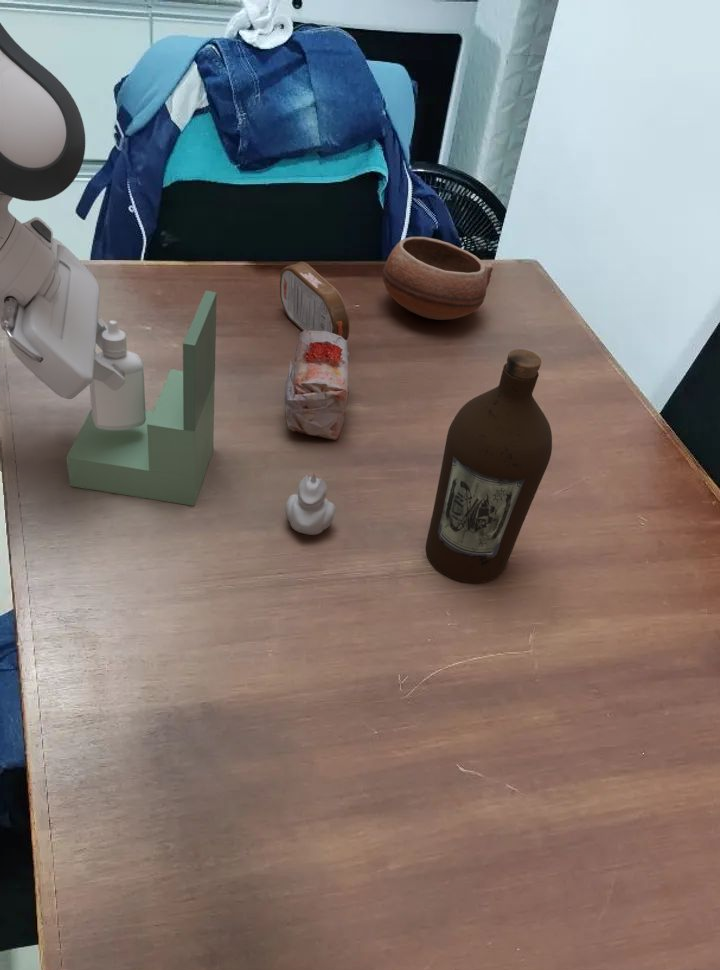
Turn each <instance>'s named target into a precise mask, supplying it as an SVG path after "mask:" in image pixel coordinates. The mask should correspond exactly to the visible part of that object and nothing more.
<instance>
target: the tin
mask: <svg viewBox="0 0 720 970" xmlns="http://www.w3.org/2000/svg"><path fill="white" fill-rule="evenodd" d="M279 297H280V302H281V304H282V307H283V310H284V312H285V314H286V316H287V318H289V320H290V321H291V322H292V323H293V324H294V325H295V326H296V327H297V328H298V329H299V330H300V331H301V332H303V331H306V330H310V331H327V332H330V333H333V334H336V335H339V336H341V337H342V338H344V339H345V340H347V341H348V339H349V336H350V325H351V324H350V316H349V311H348V307H347V305H346V303H345V300H344V299H343V297H342V295H341V293H340V292H339V291H338V289H336V288H335V286H333V285H332V284H331V283H330V282H329V281H328V280H327V279H325V278H324V277H323V276H321V275H320V274H319V273H318V272H317V271H316V270H315V269H314V268H313V267H312V266H311V265H309V264H308V263H307V262H304V261H299V262H296V263H294V264H289V265H287V266H284V268H282V270H281V272H280V276H279Z"/></svg>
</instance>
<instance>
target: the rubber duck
mask: <svg viewBox="0 0 720 970" xmlns="http://www.w3.org/2000/svg"><path fill="white" fill-rule="evenodd" d="M297 488H298V489H297V494H296V493H294V494H291V495H289V497H288V499H287V502H286V503H285V515H286V518H287V520H288V521H289V523H290V527H291V528H292V529H293V530H294V531H296V532H298V533H301V534H303V535H308V536H310V535H311V536H315V535H319V534H321V533H322V532H323V531H324V530H326V529H327V528H329V527H330V526H331V525H332V523H333V520H334V517H335V514H336V507H335V505H334V503H332V501H329V500H328V499H327V498H326V497H327V491H328V486H327V484H326V482H325V481H324V480H323V479H322V477H320V478H318V477H316V474H315V472H313V473H312V474H311V476H309V475H308V474H306V475H305V476H304V477H303V478H302V479H301V480H300V481H299V484H298V487H297Z"/></svg>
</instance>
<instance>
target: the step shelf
mask: <svg viewBox="0 0 720 970" xmlns="http://www.w3.org/2000/svg"><path fill="white" fill-rule="evenodd" d="M217 295H218V293H217V292H216V291H211V290H205V291H204V293H203V295H202V297H201V300H200V302H199V304H198V307H197V309H196V312H195V313H194V316H193V319H192V322H191V324H190V326H189V328H188V329H187V330H188V331H187V332H186V335H185V336H184V340H183V343H182V370H179V369H173V368H170V370H169V372H168V375H167V376H166V379H165V382H164V384H163V385H162V389H161V391H160V394H159V396H158V398H157V400H156V403H155V405H154V407H153V410H147V409H145V412H146V421H145V423H144V424H143V425H141V426H139V427H136V428H132V429H127V430H103V429H99V428H97V427H96V426H95V424H94V421H93V417H92V408H91V409H90V411H89V413H88V415H87V417H86V418H85V420H84V423H83V424H82V426H81V428H80V430H79V432H78V434H77V436H76V438H75V440H74V442H73V444H72V445H71V448H70V450H69V451H68V454H67V455H66V464H67V472H68V480H69V486H70V487H72V488H73V487H74V488H79V489H87V490H91V491H98V492H105V493H111V494H117V495H122V496H128V497H129V496H130V497H134V498H135V497H136V498H141V499H147V500H154V501H155V500H156V501H160V502H166V503H174V504H179V505H185V506H191V507H195V506H196V503H197V500H198V497H199V493H200V490H201V487H202V485H203V481H204V478H205V475H206V472H207V468H208V467H209V464H210V460H211V457H212V455H213V451H214V437H215V435H214V431H215V429H214V428H215V390H216V389H215V386H216V385H215V384H216V340H217V338H216V337H217V298H218V297H217Z"/></svg>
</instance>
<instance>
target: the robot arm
mask: <svg viewBox="0 0 720 970" xmlns="http://www.w3.org/2000/svg"><path fill="white" fill-rule="evenodd" d="M85 152H86V130H85V124H84V121H83V118H82V115H81V111H80V109H79V107H78V105H77V103H76V101H75V99H74V98H73V95H72V94H71V93H70V92H69V90H68V89H67V87H66V86H65V85H64V83H62V82H61V81H60V80H59V79H58V77H56V76H55V75H54V74H53V73H52V72H51V71H49V70H48V69H47V68H46V67H45V66H43V64H42V63H40V62H39V61H37V60H36V59H35V58H34V57H32V56H31V55H30V54H29V53H28V52H27V51H25V50H24V48H23V47H21V46H20V45H19V44H18V42H17V41H15V39H14V38H13V37H12V36H11V35H10V34H9V32H8V31H7V30H6V28H5V27H4V26H3V24H2V23H1V22H0V326H1V329H2V330H3V331H4V332H5V334H6V336H7V338H8V344H9V348H10V350H11V351H12V353H13V354H14V356H15V357H16V358H17V359H18V361H20V363H21V364H23V365H24V367H26V368H27V369H28V370H29V371H30V372H31V373H32V374H33V375H34V376H35V377H36V378H38V379H39V380H40V381H41V382H42V383H43V384H44V385H46V386H47V388H49V389H50V390H51V391H52V392H53V393H55V394H56V395H57V396H59V397H60V398H63V399H67V400H72V399H75V398H76V397H77V396H78V395H80V394H81V393H82V392H83V391H84V390H85V389H86V388H87V387H88V386H90V383H91V382H92V380H93V379H95V380H98V381H101V382H103V383H105V384H106V385H107V386H108V387H109V388H111V389H112V390H114V391H115V390H118V389H119V388H120V387H121V386H123V385H124V383H125V373H124V372H123V371H122V370H120V368H119V367H118V366H116V365H115V364H113V365H109V364H107V363H105V362H103V361H101V356H100V355H98V353H97V352H96V347H97V346H98V348H100V349H101V352H103V347H102V333H103V332H104V331H105V330H108V328H109V325H107V323H106V322H105V321H104V319H102V318H101V317H100V316H99V306H100V295H101V286H100V284H99V282H98V280H97V278H96V277H95V276H94V275H93V273H92V271H91V270H90V269H89V268H88V267H87V266H86V265H85V264H84V263H83V262H82V261H81V260H80V259H79V258H78V257H77V256H76V254H74V253H73V252H72V251H71V250H70V249H69V248H68V247H67V246H66V245H65V244H63V243H62V242H61V241H60V240H58V238H55V237H54V233H53V232H54V231H53V229H52V228H51V227H50V225H49V224H47V222H46V221H44V220H43V219H42V218H41V217H39V216H34V217H33V218H31V219H29V220H27V221H25V222H21V221H20V220H19V219H17V218H16V217H15V216H14V215H13V214H12V213H11V212H10V211H9V205H10V203H11V201H12V200H13V199H17V200H21V201H26V202H40V201H45V200H49V199H52V198H54V197H56V196H58V195H60V194H61V193H63V192H64V191H65V190H66V189H68V188H69V187H70V186H71V185H72V184H73V183H74V181H75V179H76V178H77V176H78V175H79V172H80V171H81V168H82V165H83V162H84V160H85Z"/></svg>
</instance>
